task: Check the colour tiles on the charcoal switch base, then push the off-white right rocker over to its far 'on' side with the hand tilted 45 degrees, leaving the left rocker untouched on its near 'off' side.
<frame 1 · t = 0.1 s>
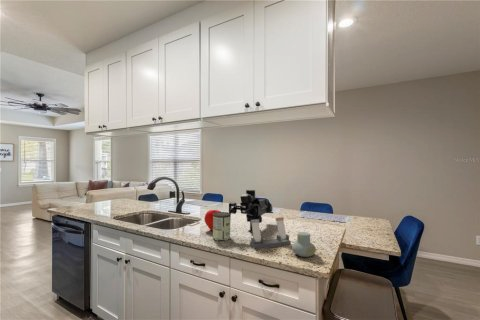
hand: (237, 211, 130), 17 cm above the worktop, tool horizontal, fingers open, 9 cm apart
switch base: (270, 245, 126), on the worktop
apple: (213, 230, 155), on the worktop
coffee can: (221, 238, 138), on the worktop, touching gripper
rocker 2: (281, 228, 130), point 8 cm above the worktop, hinge at -20.0°
rocker 1: (256, 230, 125), point 8 cm above the worktop, hinge at -20.0°
air freshener: (303, 255, 112), on the worktop
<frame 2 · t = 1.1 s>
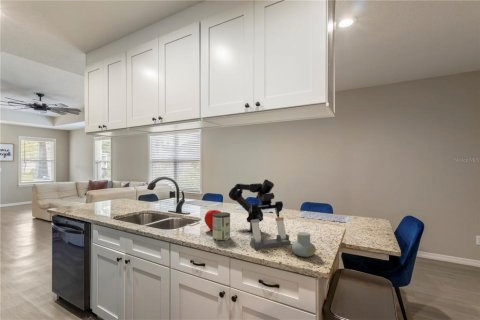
hand: (270, 218, 133), 13 cm above the worktop, tool tilted 55°, fingers open, 9 cm apart
coffee can: (221, 238, 138), on the worktop
rocker 2: (281, 228, 130), point 8 cm above the worktop, hinge at -20.4°
everything else where it was.
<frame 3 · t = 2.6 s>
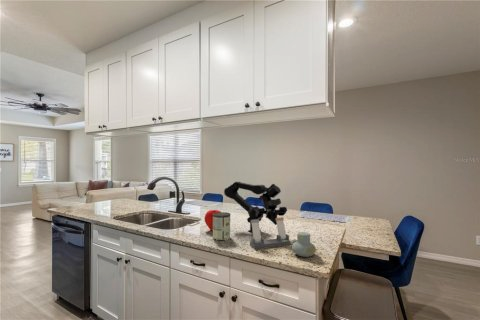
hand: (276, 224, 135), 9 cm above the worktop, tool tilted 45°, fingers closed
nothing on the worktop moved.
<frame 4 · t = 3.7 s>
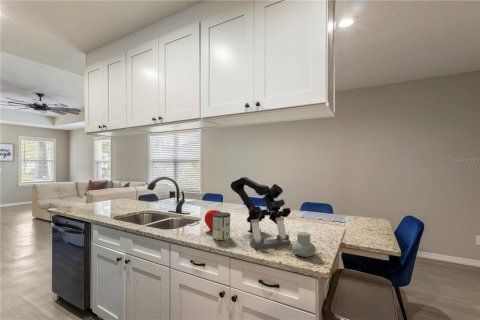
hand: (280, 226, 132), 9 cm above the worktop, tool tilted 45°, fingers closed, pressing on rocker 2
rocker 2: (281, 228, 130), point 8 cm above the worktop, hinge at -18.9°, touching gripper
everything else where it was.
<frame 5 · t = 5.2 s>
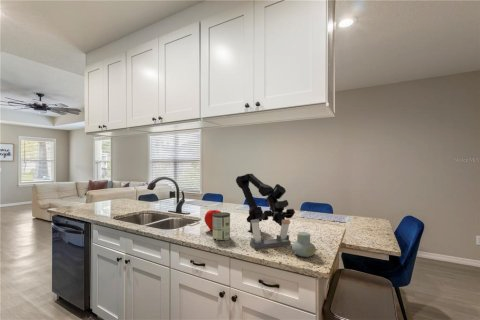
hand: (284, 227, 128), 9 cm above the worktop, tool tilted 45°, fingers closed, pressing on rocker 2
rocker 2: (284, 229, 127), point 8 cm above the worktop, hinge at 19.4°, touching gripper
everything else where it was.
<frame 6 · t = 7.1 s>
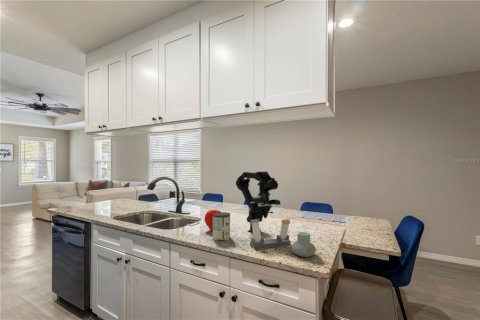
hand: (265, 218, 140), 11 cm above the worktop, tool pointing down, fingers closed
rocker 2: (284, 229, 127), point 8 cm above the worktop, hinge at 19.4°
everything else where it was.
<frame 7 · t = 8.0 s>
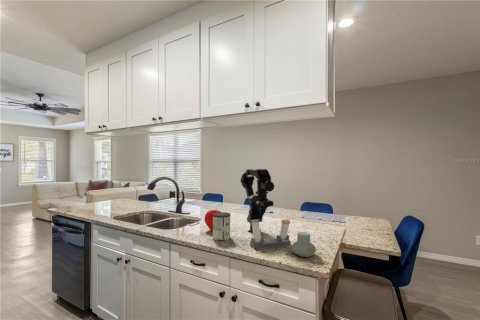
hand: (262, 216, 142), 12 cm above the worktop, tool pointing down, fingers closed
nothing on the worktop moved.
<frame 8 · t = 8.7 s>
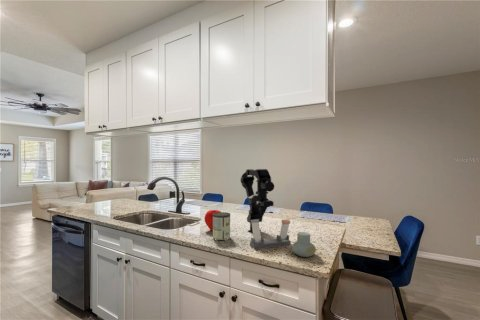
hand: (262, 216, 142), 12 cm above the worktop, tool pointing down, fingers closed
nothing on the worktop moved.
at the end: rocker 2 at +19° (first picture: -20°); rocker 1 at -20° (first picture: -20°) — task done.
